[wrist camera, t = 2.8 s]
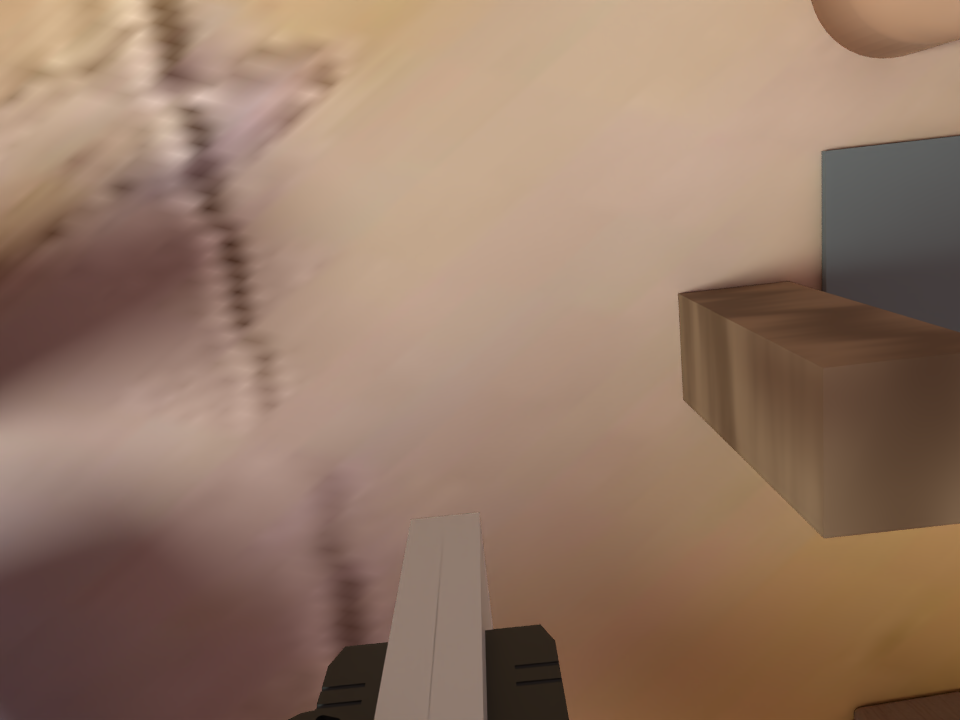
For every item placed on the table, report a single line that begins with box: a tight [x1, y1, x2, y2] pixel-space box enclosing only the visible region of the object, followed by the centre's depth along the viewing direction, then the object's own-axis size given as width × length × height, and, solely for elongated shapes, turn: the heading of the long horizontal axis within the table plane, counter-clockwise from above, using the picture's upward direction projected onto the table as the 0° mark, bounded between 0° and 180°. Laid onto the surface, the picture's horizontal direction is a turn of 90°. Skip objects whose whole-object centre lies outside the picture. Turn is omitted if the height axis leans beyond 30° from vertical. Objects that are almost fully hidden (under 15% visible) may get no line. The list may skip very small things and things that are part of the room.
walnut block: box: [678, 281, 960, 538], centre depth 27 cm, size 5×5×14 cm
